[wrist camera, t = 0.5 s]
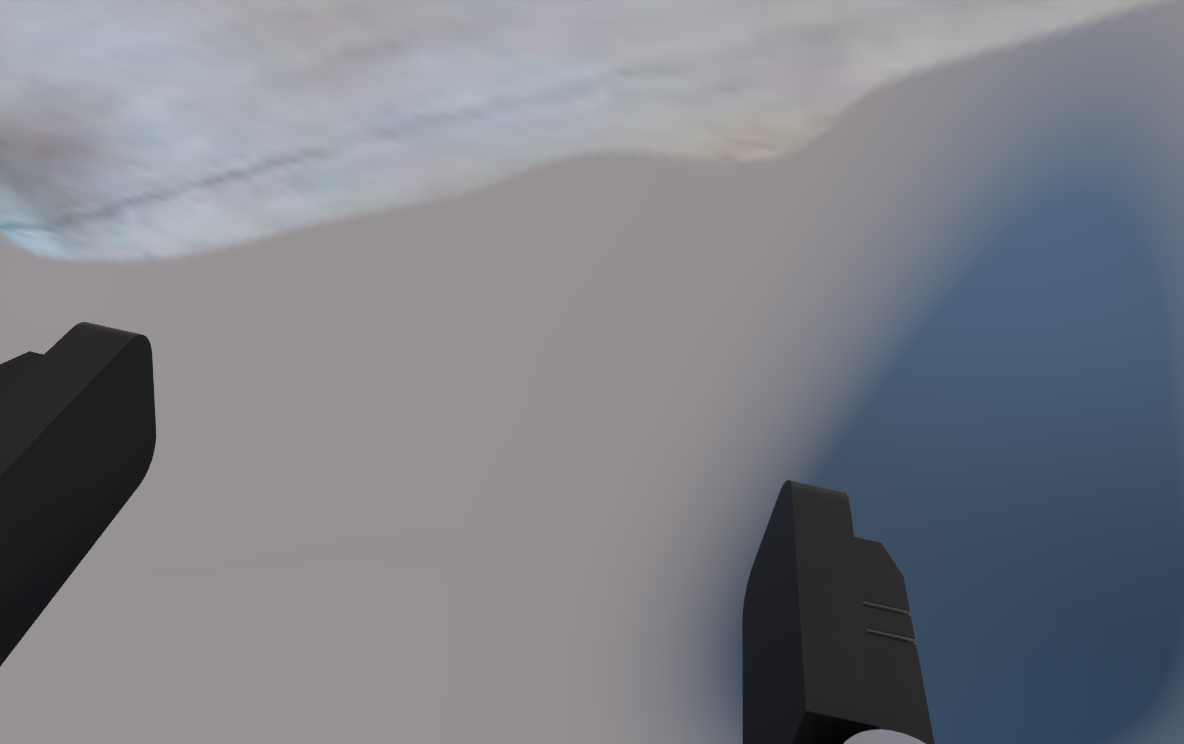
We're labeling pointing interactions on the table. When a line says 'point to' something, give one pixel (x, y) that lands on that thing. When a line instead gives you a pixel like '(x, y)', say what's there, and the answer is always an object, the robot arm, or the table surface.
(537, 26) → the table surface
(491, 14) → the table surface
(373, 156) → the table surface
